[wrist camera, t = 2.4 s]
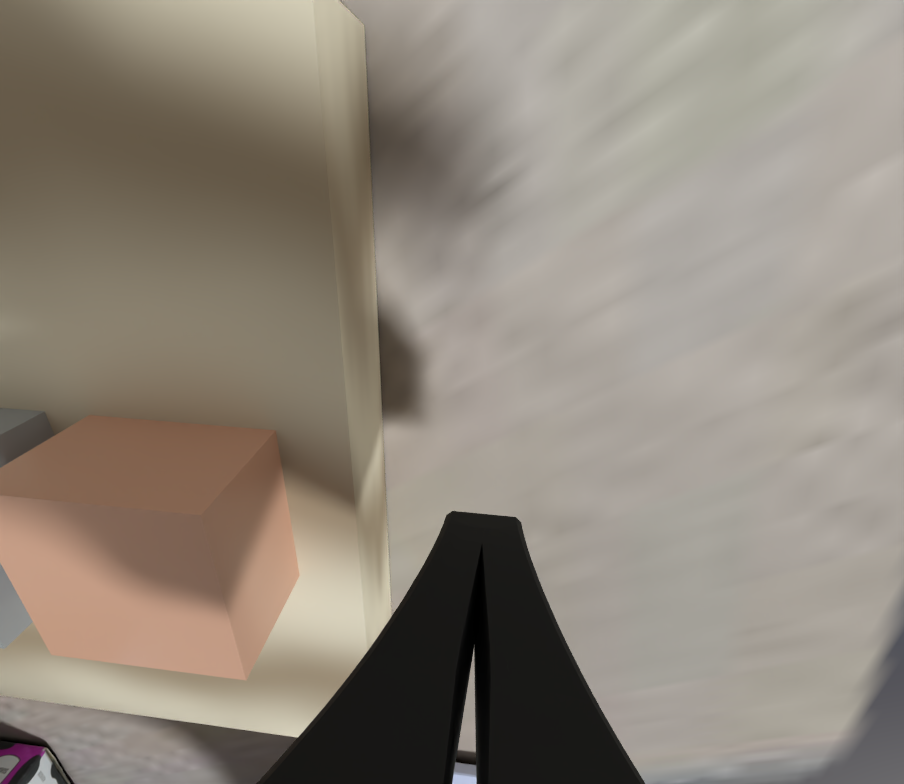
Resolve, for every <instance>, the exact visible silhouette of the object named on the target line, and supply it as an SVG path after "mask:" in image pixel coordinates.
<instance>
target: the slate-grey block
mask: <svg viewBox="0 0 904 784" xmlns="http://www.w3.org/2000/svg"><path fill="white" fill-rule="evenodd" d="M53 436H55V435H54V433H53V430H52V428H51V425H50V423H49V421H48V418H47V416H46V413H45V411H34V410H22V409H10V408H0V468H1V467H3V466H4V465H6V464H8V463H9V462H11V461H13V460H14V459H16V458H18V457H19V456H21V455H23V454H24V453H26V452H28V451H30V450H31V449H33V448H35V447H36V446H38V445H40V444H41V443H43V442H45V441H46V440H48V439H50V438H51V437H53ZM32 622H33V621H32V619H31V617H30V616H29V614H28V612H27V610H26V608H25V606H24V605H23V603H22V601H21V599H20V597H19V596H18V594H17V592H16V590H15V588H14V587H13V585H12V583H11V581H10V579H9V578H8V576H7V574H6V572H5V570H4V569H3V567H2V565H1V563H0V648H2V649H5V648H6V647H7V646H8V645H9V644H10V643H11V642H13V641H14V640H15V639H16V638H17V637H18V636H19V635H20V634H21V633H22V632H23V631H24V630H25V629H26V628H27V627H28V626H29V625H30V624H31V623H32Z"/></svg>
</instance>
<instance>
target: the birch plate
mask: <svg viewBox="0 0 904 784" xmlns="http://www.w3.org/2000/svg"><path fill="white" fill-rule="evenodd" d="M0 408H10V409H22V410H34V411H45V413H46V416H47V418H48V421H49V423H50V425H51V428H52V430H53V433H54V435H56V434H58V433H60V432H62V431H63V430H65V429H67V428H68V427H70V426H72V425H73V424H75V423H77V422H78V421H80V420H82V419H83V418H85V417H87V416H88V415H95V416H107V417H119V418H132V419H144V420H156V421H168V422H180V423H193V424H205V425H217V426H229V427H241V428H254V429H266V430H276V435H277V441H278V447H279V453H280V459H281V465H282V471H283V477H284V483H285V489H286V495H287V501H288V507H289V513H290V519H291V525H292V531H293V537H294V544H295V550H296V556H297V562H298V568H299V574H300V576H299V578H298V580H297V582H296V584H295V586H294V588H293V590H292V592H291V594H290V596H289V598H288V600H287V602H286V604H285V606H284V608H283V609H282V611H281V613H280V615H279V617H278V619H277V621H276V623H275V625H274V627H273V629H272V631H271V633H270V635H269V637H268V639H267V641H266V643H265V645H264V647H263V649H262V651H261V653H260V655H259V657H258V659H257V661H256V663H255V664H254V666H253V668H252V670H251V672H250V674H249V676H248V678H247V680H239V679H231V678H223V677H216V676H208V675H201V674H193V673H185V672H178V671H170V670H162V669H155V668H147V667H139V666H132V665H124V664H117V663H109V662H101V661H94V660H86V659H78V658H71V657H63V656H56V655H51V653H50V652H49V650H48V648H47V646H46V644H45V643H44V641H43V639H42V637H41V635H40V634H39V632H38V630H37V628H36V626H35V625H34V623H33V622H32V623H31V624H30V625H29V626H28V627H27V628H26V629H25V630H24V631H23V632H22V633H21V634H20V635H19V636H18V637H17V638H16V639H15V640H14V641H13V642H11V643H10V644H9V645H8V646H7V647H6V648H5V649H2V648H0V696H6V697H13V698H21V699H28V700H35V701H42V702H49V703H56V704H63V705H70V706H77V707H85V708H92V709H99V710H106V711H113V712H120V713H127V714H134V715H141V716H149V717H156V718H163V719H170V720H177V721H184V722H191V723H198V724H205V725H213V726H220V727H227V728H234V729H241V730H248V731H255V732H262V733H269V734H276V735H284V736H291V737H299V736H300V735H301V733H302V732H303V731H304V730H305V729H306V728H307V726H308V725H309V724H310V723H311V722H312V721H313V719H314V718H315V717H316V716H317V715H318V714H319V712H320V711H321V710H322V709H323V708H324V707H325V705H326V704H327V703H328V702H329V700H330V699H331V698H332V697H333V695H334V694H335V693H336V692H337V690H338V689H339V688H340V687H341V685H342V684H343V683H344V682H345V680H346V679H347V678H348V677H349V675H350V674H351V673H352V671H353V670H354V669H355V667H356V666H357V665H358V663H359V662H360V661H361V659H362V658H363V657H364V655H365V654H366V653H367V651H368V650H369V649H370V647H371V646H372V644H373V643H374V642H375V640H376V639H377V637H378V636H379V634H380V633H381V631H382V630H383V628H384V627H385V625H386V624H387V623H388V621H389V620H390V618H391V617H392V616H391V594H390V572H389V550H388V528H387V507H386V485H385V463H384V441H383V419H382V398H381V376H380V354H379V332H378V310H377V289H376V267H375V245H374V223H373V201H372V180H371V158H370V136H369V114H368V92H367V71H366V49H365V27H364V24H363V23H362V22H361V21H360V20H359V19H358V18H357V17H356V16H355V15H353V14H352V13H351V12H350V11H349V10H348V9H347V8H346V7H345V6H344V5H343V4H342V3H341V2H340V1H339V0H0Z"/></svg>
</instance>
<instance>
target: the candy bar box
mask: <svg viewBox="0 0 904 784" xmlns="http://www.w3.org/2000/svg"><path fill="white" fill-rule="evenodd" d="M0 784H71V783H70V781H69V780H68V778H67V777H66V775H65V774H64V772H63V770H62V768H61V766H60V765H59V763H58V762H57V760H56V758H55V757H54V756H53V755H52V753H51V752H50V751H49V749H48V748H46V747H41V746H34V745H27V744H20V743H13V742H6V741H0Z"/></svg>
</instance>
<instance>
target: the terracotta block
mask: <svg viewBox="0 0 904 784" xmlns="http://www.w3.org/2000/svg"><path fill="white" fill-rule="evenodd" d="M0 563H1V565H2V567H3V569H4V570H5V572H6V574H7V576H8V578H9V579H10V581H11V583H12V585H13V587H14V588H15V590H16V592H17V594H18V596H19V597H20V599H21V601H22V603H23V605H24V606H25V608H26V610H27V612H28V614H29V616H30V617H31V619H32V621H33V623H34V625H35V626H36V628H37V630H38V632H39V634H40V635H41V637H42V639H43V641H44V643H45V644H46V646H47V648H48V650H49V652H50V653H51V655H56V656H63V657H71V658H78V659H86V660H94V661H101V662H109V663H117V664H124V665H132V666H139V667H147V668H155V669H162V670H170V671H178V672H185V673H193V674H201V675H208V676H216V677H223V678H231V679H239V680H247V678H248V676H249V674H250V672H251V670H252V668H253V666H254V664H255V663H256V661H257V659H258V657H259V655H260V653H261V651H262V649H263V647H264V645H265V643H266V641H267V639H268V637H269V635H270V633H271V631H272V629H273V627H274V625H275V623H276V621H277V619H278V617H279V615H280V613H281V611H282V609H283V608H284V606H285V604H286V602H287V600H288V598H289V596H290V594H291V592H292V590H293V588H294V586H295V584H296V582H297V580H298V578H299V576H300V574H299V568H298V562H297V556H296V550H295V544H294V537H293V531H292V525H291V519H290V513H289V507H288V501H287V495H286V489H285V483H284V477H283V471H282V465H281V459H280V453H279V447H278V441H277V435H276V430H266V429H254V428H241V427H229V426H217V425H205V424H193V423H180V422H168V421H156V420H144V419H132V418H119V417H107V416H95V415H88V416H87V417H85V418H83V419H82V420H80V421H78V422H77V423H75V424H73V425H72V426H70V427H68V428H67V429H65V430H63V431H62V432H60V433H58V434H56V435H55V436H53V437H51V438H50V439H48V440H46V441H45V442H43V443H41V444H40V445H38V446H36V447H35V448H33V449H31V450H30V451H28V452H26V453H24V454H23V455H21V456H19V457H18V458H16V459H14V460H13V461H11V462H9V463H8V464H6V465H4V466H3V467H1V468H0Z"/></svg>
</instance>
